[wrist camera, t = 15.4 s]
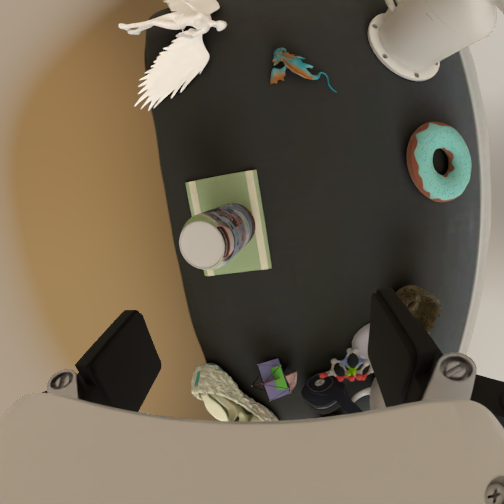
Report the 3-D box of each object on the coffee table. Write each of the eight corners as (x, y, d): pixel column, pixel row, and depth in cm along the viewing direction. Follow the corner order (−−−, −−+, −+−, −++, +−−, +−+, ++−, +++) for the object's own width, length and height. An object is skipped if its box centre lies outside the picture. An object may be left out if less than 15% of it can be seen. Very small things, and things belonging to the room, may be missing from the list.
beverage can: (257, 244, 38) (248, 278, 27) (205, 245, 39) (177, 278, 27) (255, 199, 36) (245, 214, 25) (202, 201, 37) (170, 217, 26)
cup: (406, 318, 40) (424, 344, 33) (372, 308, 40) (388, 336, 33) (426, 280, 38) (449, 302, 30) (393, 267, 38) (414, 289, 30)
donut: (447, 116, 30) (461, 113, 26) (468, 187, 32) (482, 190, 29) (390, 132, 32) (402, 130, 28) (415, 210, 35) (427, 215, 31)
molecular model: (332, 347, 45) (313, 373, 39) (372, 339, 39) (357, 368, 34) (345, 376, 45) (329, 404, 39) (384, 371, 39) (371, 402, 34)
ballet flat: (257, 431, 52) (253, 458, 45) (181, 368, 47) (168, 397, 40) (289, 420, 50) (288, 449, 43) (213, 352, 45) (203, 384, 38)
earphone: (338, 419, 50) (394, 461, 34) (314, 437, 48) (367, 484, 31) (322, 361, 45) (397, 408, 29) (291, 382, 43) (362, 441, 26)
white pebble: (358, 328, 39) (355, 322, 41) (350, 366, 42) (348, 359, 44) (402, 325, 38) (398, 319, 40) (391, 362, 41) (388, 355, 43)
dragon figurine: (331, 43, 28) (278, 31, 25) (349, 78, 27) (292, 66, 25) (311, 70, 34) (263, 62, 32) (325, 105, 33) (273, 99, 31)
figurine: (134, -19, 22) (210, -6, 30) (99, 111, 31) (184, 116, 39) (152, -57, 13) (245, -34, 21) (99, 100, 22) (214, 110, 30)
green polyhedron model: (255, 407, 37) (304, 392, 37) (242, 368, 40) (291, 352, 40) (259, 401, 44) (301, 387, 44) (248, 367, 47) (290, 353, 47)
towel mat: (186, 182, 37) (184, 182, 36) (256, 169, 35) (256, 169, 35) (205, 275, 41) (204, 276, 40) (271, 267, 39) (271, 268, 39)
